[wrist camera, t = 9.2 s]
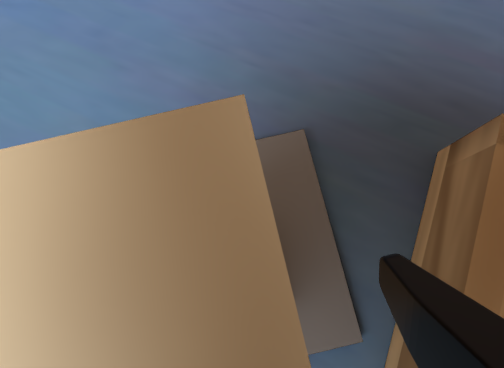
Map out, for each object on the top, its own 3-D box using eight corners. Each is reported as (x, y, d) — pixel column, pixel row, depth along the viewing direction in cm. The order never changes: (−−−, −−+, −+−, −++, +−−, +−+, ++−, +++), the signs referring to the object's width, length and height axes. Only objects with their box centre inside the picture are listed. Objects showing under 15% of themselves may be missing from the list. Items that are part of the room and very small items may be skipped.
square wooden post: (194, 343, 15) (-42, 643, 3) (173, 231, 16) (-61, 163, 4) (282, 321, 15) (354, 542, 3) (256, 212, 16) (244, 93, 4)
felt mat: (140, 392, 15) (136, 396, 15) (108, 177, 17) (104, 174, 17) (359, 338, 15) (363, 341, 15) (302, 132, 18) (303, 129, 17)
